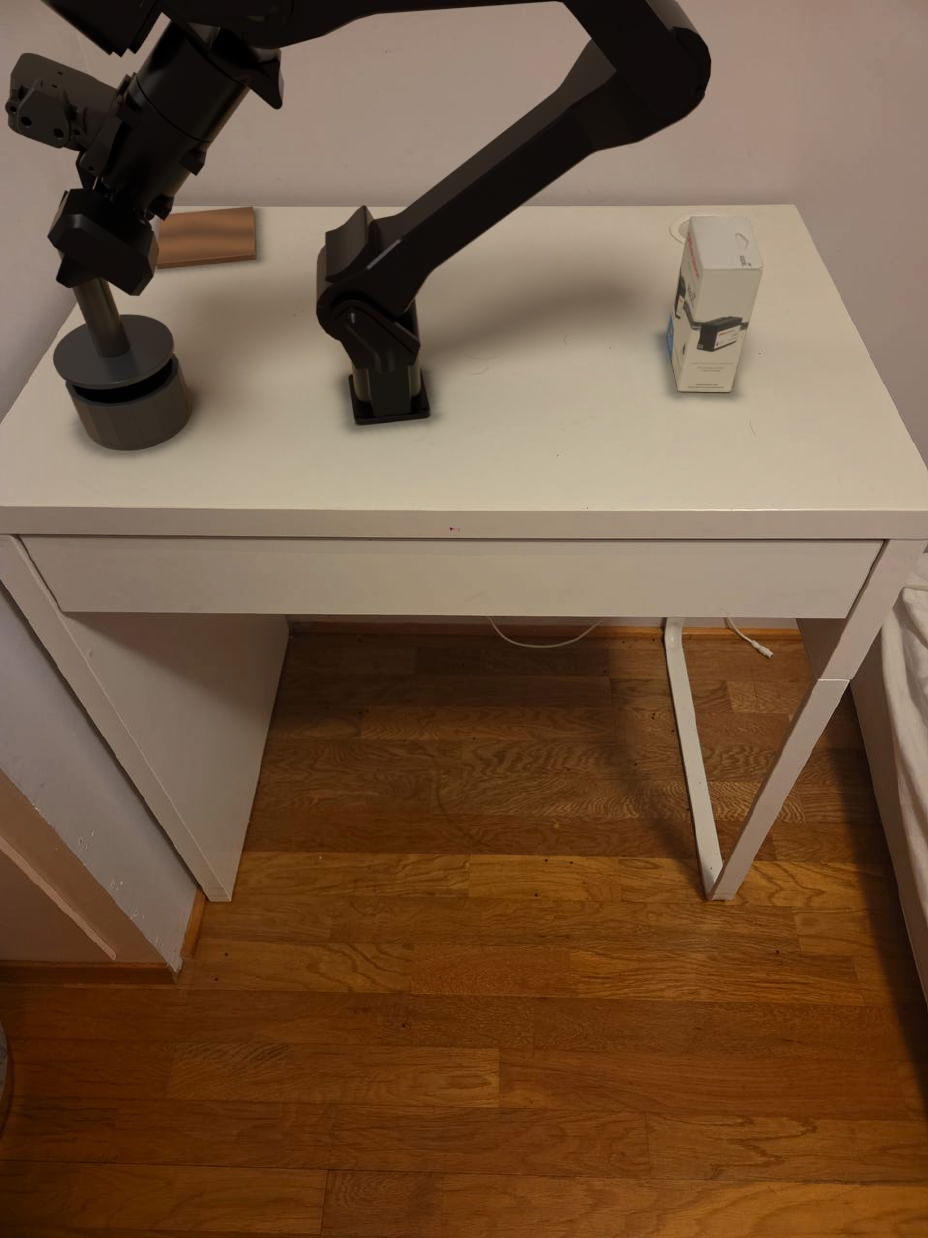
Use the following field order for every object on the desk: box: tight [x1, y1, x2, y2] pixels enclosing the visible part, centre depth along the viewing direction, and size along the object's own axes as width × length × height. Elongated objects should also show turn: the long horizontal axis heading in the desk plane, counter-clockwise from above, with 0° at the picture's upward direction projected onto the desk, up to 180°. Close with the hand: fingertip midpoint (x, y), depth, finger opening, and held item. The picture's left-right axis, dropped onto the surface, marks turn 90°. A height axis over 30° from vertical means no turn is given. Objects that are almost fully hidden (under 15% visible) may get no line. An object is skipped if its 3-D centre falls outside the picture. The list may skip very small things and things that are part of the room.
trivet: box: [156, 206, 257, 270], centre depth 95 cm, size 10×10×1 cm
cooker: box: [64, 352, 193, 451], centre depth 75 cm, size 9×9×4 cm
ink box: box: [666, 215, 764, 393], centre depth 76 cm, size 8×5×12 cm, turn 178°
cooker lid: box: [52, 249, 175, 389], centre depth 68 cm, size 9×9×10 cm
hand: (66, 272), depth 66 cm, fingers closed on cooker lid, 2 cm apart
